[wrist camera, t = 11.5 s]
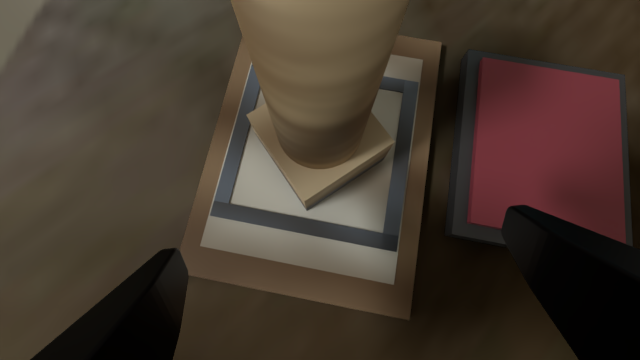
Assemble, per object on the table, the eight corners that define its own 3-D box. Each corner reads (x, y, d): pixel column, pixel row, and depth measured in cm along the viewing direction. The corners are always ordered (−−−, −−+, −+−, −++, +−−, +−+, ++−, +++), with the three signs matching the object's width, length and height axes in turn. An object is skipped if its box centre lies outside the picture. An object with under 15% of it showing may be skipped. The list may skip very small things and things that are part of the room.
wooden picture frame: (406, 318, 16) (410, 321, 15) (178, 271, 17) (171, 272, 16) (438, 48, 20) (442, 40, 19) (251, 17, 20) (249, 8, 20)
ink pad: (615, 268, 17) (641, 269, 15) (444, 235, 17) (455, 233, 16) (609, 84, 19) (631, 71, 18) (461, 59, 20) (471, 44, 18)
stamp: (383, 160, 17) (528, -68, 5) (306, 210, 17) (273, 82, 5) (331, 91, 18) (354, -231, 6) (257, 137, 18) (124, -128, 6)
